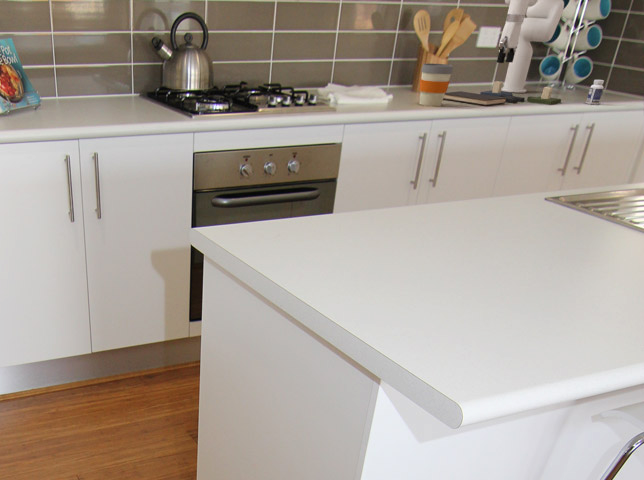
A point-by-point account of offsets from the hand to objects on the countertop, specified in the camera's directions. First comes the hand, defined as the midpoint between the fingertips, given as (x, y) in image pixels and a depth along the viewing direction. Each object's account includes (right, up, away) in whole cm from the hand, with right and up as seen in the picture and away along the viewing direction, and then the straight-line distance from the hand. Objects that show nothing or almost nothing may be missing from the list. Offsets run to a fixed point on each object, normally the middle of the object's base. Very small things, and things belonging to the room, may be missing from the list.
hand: (504, 62), depth 333 cm
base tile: (-1, -20, -5) cm, 21 cm away
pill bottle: (+38, -21, -4) cm, 44 cm away
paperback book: (-20, -24, -12) cm, 33 cm away
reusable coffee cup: (-43, -31, -25) cm, 58 cm away
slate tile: (0, -12, +8) cm, 14 cm away
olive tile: (+15, -20, -4) cm, 26 cm away
